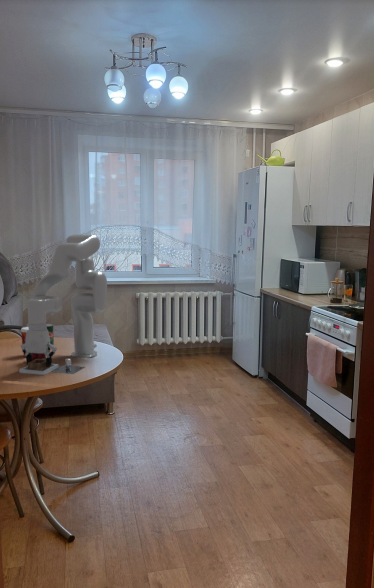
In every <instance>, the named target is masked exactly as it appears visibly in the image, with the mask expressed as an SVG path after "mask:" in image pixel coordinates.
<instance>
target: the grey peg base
mask: <svg viewBox="0 0 374 588" xmlns="http://www.w3.org/2000/svg"><path fill="white" fill-rule="evenodd" d="M64 361H65V364H64V365H61V366H59V367H58V368H56V369H54V370H52V371H50V373H57V374H58V373H59V374H67V375H74V374H76V373H78V372H80V371H81V370H83V369H86V366H78V365H77V366H76V365H72V358H69V357H68V358H65V360H64Z"/></svg>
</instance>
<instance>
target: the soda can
mask: <svg viewBox="0 0 374 588" xmlns="http://www.w3.org/2000/svg"><path fill="white" fill-rule="evenodd" d="M31 355H32V361H33V360H35V359H46V358H47V356H46V355H45V354H37V353H31Z"/></svg>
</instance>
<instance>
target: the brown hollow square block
mask: <svg viewBox="0 0 374 588" xmlns="http://www.w3.org/2000/svg"><path fill="white" fill-rule="evenodd" d="M27 366H28V370H38V371H44V370H46V369H48V368H50V366H49V367H47V366H46V359H35V360H33V361H31V362H28V365H27Z"/></svg>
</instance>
